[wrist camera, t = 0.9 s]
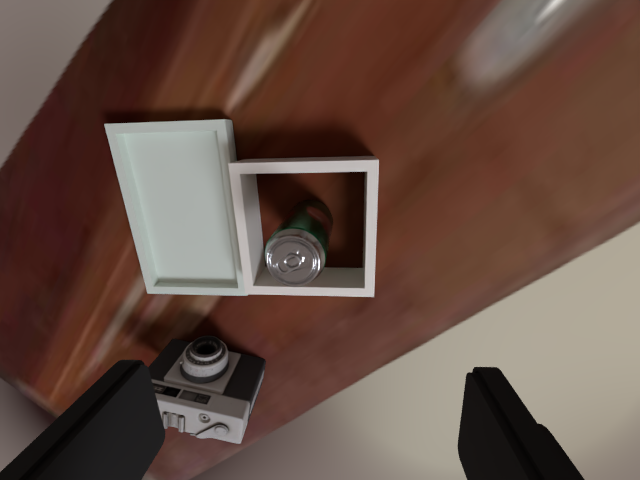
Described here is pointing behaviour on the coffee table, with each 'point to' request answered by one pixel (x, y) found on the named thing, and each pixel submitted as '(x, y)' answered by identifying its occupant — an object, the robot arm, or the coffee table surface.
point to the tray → (180, 203)
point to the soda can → (300, 244)
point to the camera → (206, 388)
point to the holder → (250, 230)
